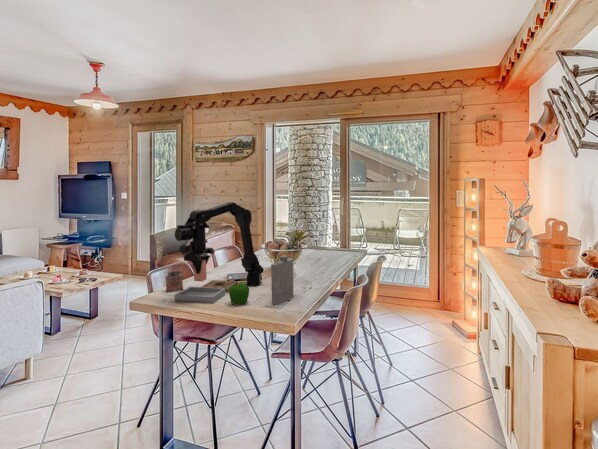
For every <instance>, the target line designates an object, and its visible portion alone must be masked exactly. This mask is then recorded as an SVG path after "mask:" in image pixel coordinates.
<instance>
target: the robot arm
mask: <svg viewBox="0 0 598 449" xmlns="http://www.w3.org/2000/svg"><path fill="white" fill-rule="evenodd" d="M228 212H229V213H230V215H232V216H233V217H234V219H235V223H236V224H237V226H238V227H239V230H240V236H241V241H242V247H243V253H244V255H243V257H241V258H240V260H241V266H242V267H243V269H244V271H245V272H246V273H247V275H246V283H247V284H246V285H248V286H255V287H256V286H260V285H261V284H262V283H263V281H262V273H263V272H264V269H265V268H264V267H262V265H261V264H260V261H259V258H258V256H257V255H256V254H255V251H254V245H253V239H252V237H253V236H252V234H251V233H252V232H251V223H252V212H251V210H249V209H247V208H245V207H242V206H241V205H238V204H237V203H236V202H234V201H233V202H232V201H229V202H226V203H223V204H220V205H216V206H214V207H210V208H208V209H196V210H195V209H194V210H192V211H191V212H189V213H190V214H189V217H188V218H187V219H186V222H185V223H184V224H183V225H182V224H178V225H176V228H175V231H174V238H175V239H176V241H177V242H183V241H190V240H191V241H190V242H189V244H188V245H185V244H182V245H179V251H178V252H179V253H180V254H181V255H182V256H183V261H184V262H185V261H186V262H190V263H192V265H193V268H194V267H195V270H196V273H197V274H199V273H200V270H201V266H202V262H203V260H206V266H207V264H208V262H209V260H210V258H211V255H214V254H215V248H213V247H207V243H208V240H207V239H206V229H209V228H210V225H208V224H207V222H208V221H210V220H211V219H213V218H215V217H217V216H219V215H223V214H226V213H228ZM209 254H210V255H209Z"/></svg>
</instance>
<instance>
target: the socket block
mask: <svg viewBox="0 0 598 449" xmlns="http://www.w3.org/2000/svg"><path fill="white" fill-rule="evenodd" d="M238 283H239V281H238V280H237V281H236V280H218V279H217V280H216V279H212V280H210V281H209V282H206V283H205V284H204V285H202V286H201V287H209V288H225V294H226V293H228V294H229V288H230V287H232V285H234V284H236V285H238Z"/></svg>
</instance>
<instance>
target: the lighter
mask: <svg viewBox="0 0 598 449" xmlns="http://www.w3.org/2000/svg"><path fill="white" fill-rule="evenodd" d="M181 273H182V270H180V269H179V270H178V269H177V270H171V271H168V272H167V275H166V276H165V287H166V288H165V289H166V290H165V292H166V293H175V292H177V293H178V292H181V291H183V290H184V286H183V285H184V284H183V282H184V281H183V277H184V275H183V274H181Z"/></svg>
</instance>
